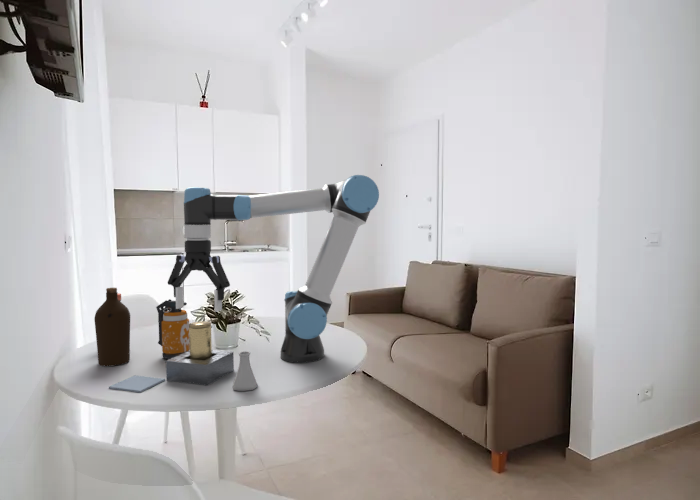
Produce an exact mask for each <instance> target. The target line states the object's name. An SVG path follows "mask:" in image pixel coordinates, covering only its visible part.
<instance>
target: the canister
mask: <svg viewBox="0 0 700 500" xmlns="http://www.w3.org/2000/svg"><path fill="white" fill-rule="evenodd" d="M185 306H187V302H184V307H185ZM155 308H156V311H157V313H158V314H157V315H158V317H157V321H158V342H157V344H158V345H160V347H161V351H162V353H161V354H162V358H164V359H167V360H169V359H171V358H174V357H176V356H178V355H181V354H183V353H185V352H188V351H190V346H189V324H190V319H189V318H188V312H187V310H185V309H182V308H179V309H176V300H172V299H171V298H170V299H168V300H167V299H166V300H164V301H162V302H161V303H160V304H159V305H157V306H155Z"/></svg>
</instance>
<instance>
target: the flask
mask: <svg viewBox="0 0 700 500" xmlns="http://www.w3.org/2000/svg"><path fill="white" fill-rule="evenodd" d="M238 355H239V364H238V369H237V371H236V375H235V378H234V381H233V383H232V390H233V391H239V392H245V391H252V390H255V389H256V388H258V387H259V386H258V383H257V380H256V377H255V374H254V372H253V369H252V365H251V362H250V355H251V352H250V351H247V350H244V351H240V352H238Z"/></svg>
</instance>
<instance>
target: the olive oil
mask: <svg viewBox="0 0 700 500" xmlns="http://www.w3.org/2000/svg"><path fill="white" fill-rule="evenodd" d="M105 291H106V293H105V301H104V302H103V303H102V304H101V305H100V306H99V307H98V308H97V309H96V311H95V315H94V319H93V320H94V329H95V339H96V351H97V363H98V365H99V366H101V367H117V366H121V365H125V364H126V363H129V362H130V360H131V359H130V358H131V355H130V354H131V352H130V351H131V350H130V349H131V348H130V346H131V345H130V344H131V313H130V311H129V308H128V307H127V305H125V304H124V303H123V302H122V301H119V300H118V288H117V287H107V288H106V289H105Z"/></svg>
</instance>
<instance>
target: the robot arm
mask: <svg viewBox="0 0 700 500" xmlns="http://www.w3.org/2000/svg"><path fill="white" fill-rule="evenodd" d="M183 198H184V199H183V215H184V219H183V220H184V224H183V227H184V228H183V232H184V233H183V234H184V236H183V237H184V238H185V241H184V252H185V254H177V255H176V257H175V264H174V266H173V268H172V270H171V273H170V276H169V278H168V280H167V284H168V285H169V286H172V287H173V297H174V298H175V301H176V309H179V308H181V309H183V308H184V307H185V306H184V286H183V283H184V281H185V280H186V279H187V277H188V276H189V275H190V273H191V272H192V271H198V272H200V271H203V273H205V274H206V275H207V277H208V279H210V281H211V283H212V284H213V285H214V287H215V289H214V312H221V311H223V300H224V299H225V289H226V288H229V287H230V286H231V284H230V281H229V279H228V276H227V274H226V272H225V270H224V267H223V266H222V263H221V256H219V255H212V256H211V252H212V241H211V240H210V239H211V238H212V237H211V236H212V235H211V234H212V233H211V232H212V229H211V227H212V226H211V224H212V223H211V221H212V220H214V221H217V220H218V221H219V220H221V221H222V220H223V221H224V220H225V221H247V220H250V219H256V218H264V217H273V216H282V215H283V216H284V215H291V214H292V215H294V214H303V213H310V212H319V211H320V212H321V211H326V212H327V213H332V215H333V218H332V219H331V223H330V225H329V228H328V229H327V232H326V235H325V237H324V239H323V241H322V244H321V246H320V248H319V251H318V253H317V256H316V258H315V261H314V263H313V265H312V267H311V270H310V272H309V275H308V276H307V280H306V282H305V284H304V286H301V287H299V288H297V289H298V290H290V291H287V292H285V294H284V300H283V301H284V312H285V313H284V325H285V326H284V328H285V329H284V330H285V332H284V335H285V336H284V339H283V341H282V344H281V348H280V359H281V360H283V361H285V362H289V363H300V364H301V363H311V362H316V360H317V361H319V359H320V360H322V359H324V357H325V348H324V345H323V341H322V339H321V336H320V335H321V334H322V333H323V332H324V331H325V328H326V326H327V324H328V323H327V322H328V314H329V312H330V309H331V306H332V304H333V301H332V298H331V294H332V292H333V289H334V287H335V285H336V283H337V280H338V278H339V275H340V273H341V270H342V267H343V265H344V263H345V260H346V258H347V256H348V253H349V250H350V248H351V246H352V244H353V241H354V238H355V236H356V234H357V233H358V232H357V231H358V229H359V227H361V226H363V225H365V224H366V222H367V220H368V218H369V216H370V213H371V211H373V209H374V208H375V207H376V206H377V204H378V202H379V198H380V191H379V187H378V186H377V184H376V182H375V181H374V180H373V179H372V178H370V177H369V176H366V175H364V174H354V175H351V176H349V177H348V178H346V179H344V180H342V181H340V182H336V183H330V184H324V186H323V187H321V188H320V187H319V188H311V189H302V190H301V189H300V190H292V191H291V190H290V191H281V192H274V193H263V194H253V195H243V194H212V192H211V189H210V188H209V187H199V186H198V187H193V186H191V187H187V188H186V189H185V190H184V197H183ZM184 263H186V264H185V266H184ZM211 264H212V265H211ZM182 269H183V270H182Z"/></svg>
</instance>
